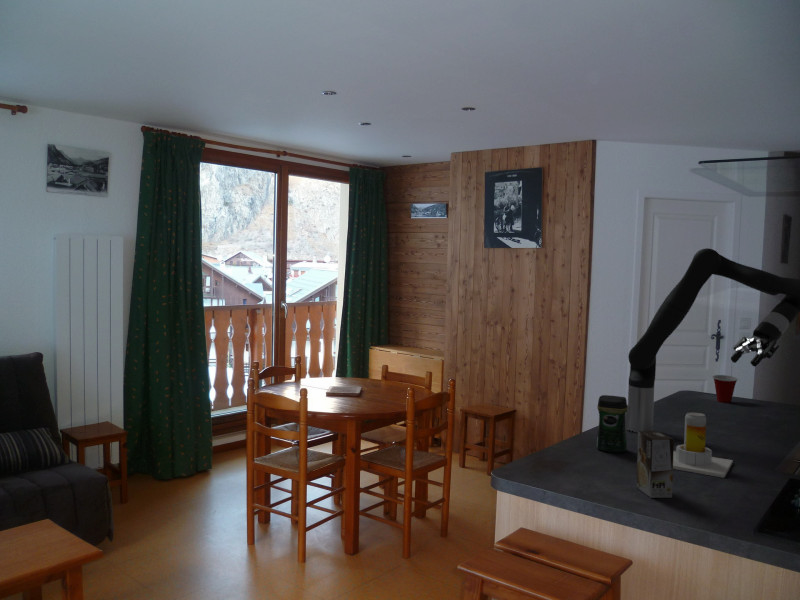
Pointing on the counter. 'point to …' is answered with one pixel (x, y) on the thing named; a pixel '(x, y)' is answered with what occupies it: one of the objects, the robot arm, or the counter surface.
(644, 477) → the coffee box
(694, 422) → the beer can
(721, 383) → the plastic cup
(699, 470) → the base
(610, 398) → the coffee jar
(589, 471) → the counter surface
